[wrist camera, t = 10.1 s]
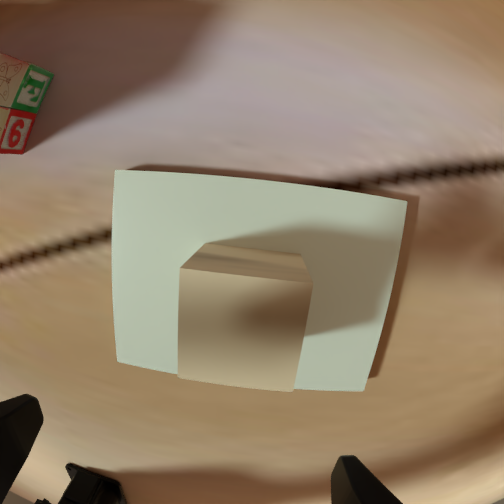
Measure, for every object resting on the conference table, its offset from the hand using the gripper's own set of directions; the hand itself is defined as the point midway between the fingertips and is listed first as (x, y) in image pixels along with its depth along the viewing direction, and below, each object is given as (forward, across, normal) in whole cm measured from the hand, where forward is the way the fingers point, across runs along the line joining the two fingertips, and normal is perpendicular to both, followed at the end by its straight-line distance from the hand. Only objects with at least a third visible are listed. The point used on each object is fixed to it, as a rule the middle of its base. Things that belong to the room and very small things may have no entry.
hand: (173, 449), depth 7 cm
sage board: (+12, -1, -1) cm, 12 cm away
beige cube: (+10, -1, -1) cm, 11 cm away
